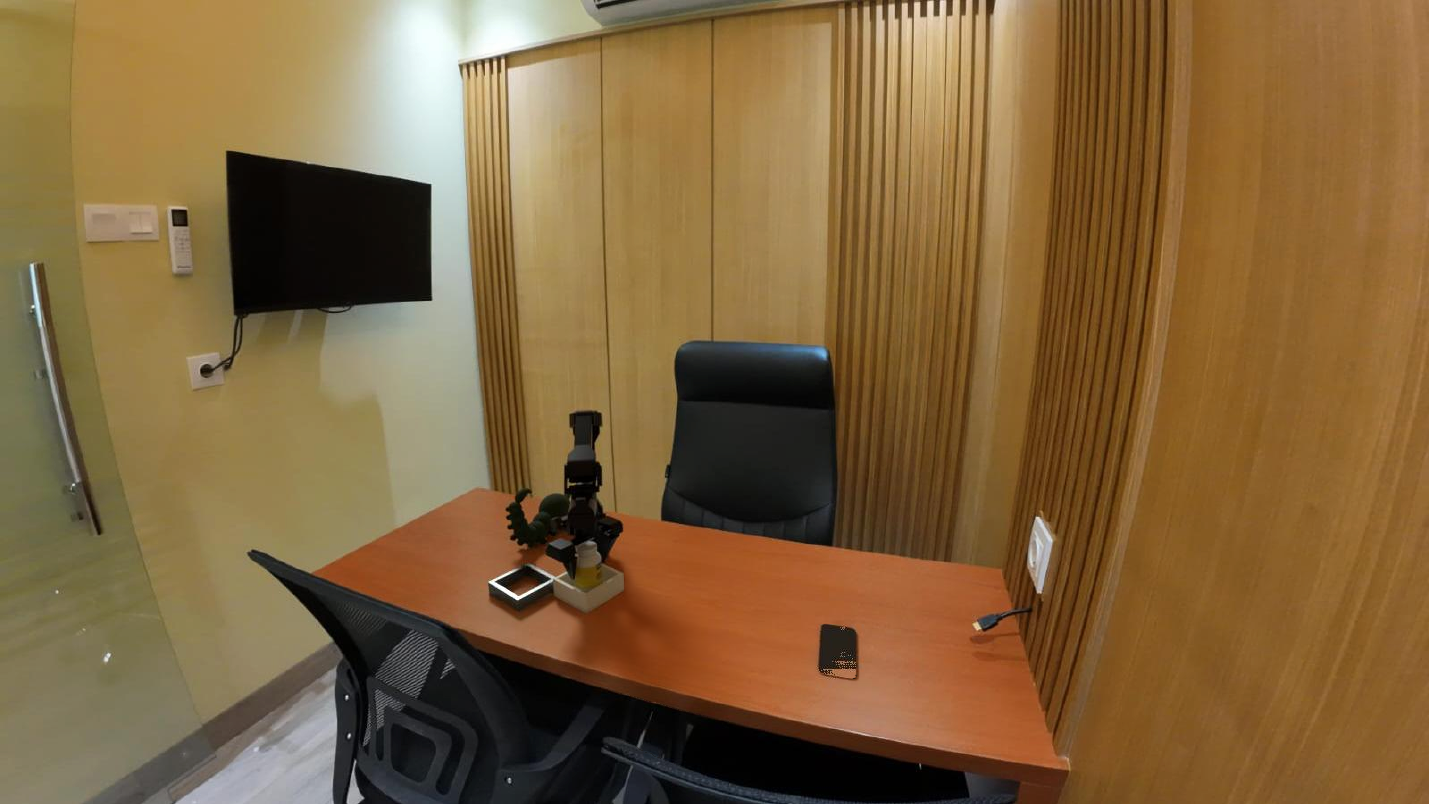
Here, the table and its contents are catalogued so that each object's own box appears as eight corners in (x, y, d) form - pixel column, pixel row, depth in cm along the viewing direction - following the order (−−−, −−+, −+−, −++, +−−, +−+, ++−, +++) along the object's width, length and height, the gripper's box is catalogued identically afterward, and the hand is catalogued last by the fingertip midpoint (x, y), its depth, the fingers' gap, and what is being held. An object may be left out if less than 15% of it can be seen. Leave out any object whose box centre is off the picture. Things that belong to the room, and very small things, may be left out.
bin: (592, 574, 136) (591, 558, 135) (624, 590, 129) (623, 573, 128) (554, 595, 127) (552, 578, 126) (586, 614, 120) (585, 596, 119)
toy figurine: (532, 564, 144) (586, 518, 166) (522, 501, 138) (579, 462, 160) (504, 557, 147) (561, 513, 169) (493, 496, 141) (554, 458, 163)
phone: (817, 672, 103) (820, 622, 117) (817, 675, 103) (820, 626, 117) (857, 678, 101) (855, 628, 115) (857, 682, 101) (855, 631, 115)
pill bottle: (596, 599, 124) (594, 554, 122) (570, 596, 125) (567, 551, 123) (607, 583, 130) (605, 540, 128) (582, 580, 132) (579, 537, 129)
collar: (529, 573, 136) (528, 562, 136) (558, 589, 129) (558, 578, 129) (489, 593, 128) (487, 582, 127) (518, 611, 121) (517, 600, 120)
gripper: (592, 488, 135) (595, 544, 139) (528, 514, 120) (533, 576, 124) (623, 499, 129) (625, 558, 132) (559, 528, 114) (564, 593, 118)
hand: (588, 570), depth 127 cm, fingers open, 9 cm apart
